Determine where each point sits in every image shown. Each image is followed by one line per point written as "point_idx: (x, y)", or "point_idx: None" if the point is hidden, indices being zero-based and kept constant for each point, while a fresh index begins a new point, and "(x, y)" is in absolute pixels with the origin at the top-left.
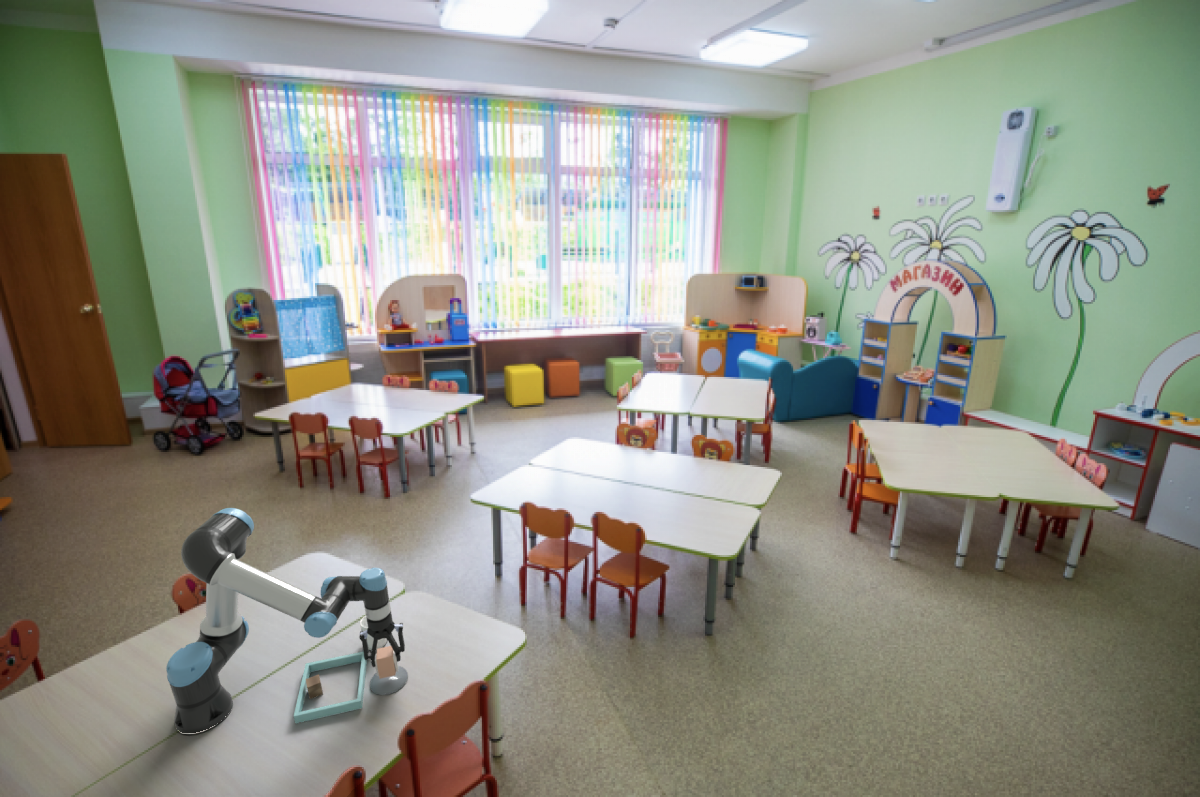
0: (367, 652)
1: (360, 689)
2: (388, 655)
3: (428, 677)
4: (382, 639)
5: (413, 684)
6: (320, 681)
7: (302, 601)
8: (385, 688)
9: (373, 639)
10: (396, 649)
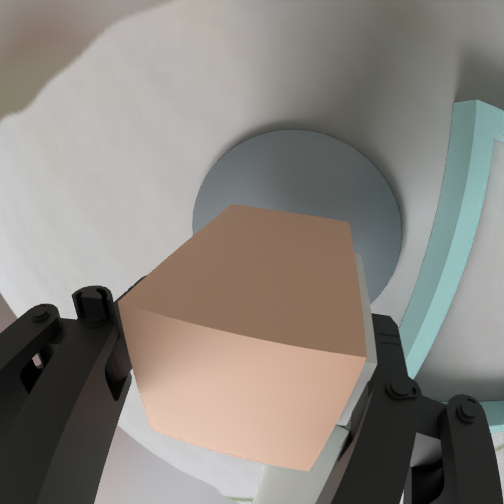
0: (459, 498)
1: (470, 203)
2: (170, 341)
3: (110, 174)
4: None
5: (170, 152)
6: None
7: None
8: (320, 174)
9: (318, 466)
10: (62, 358)
